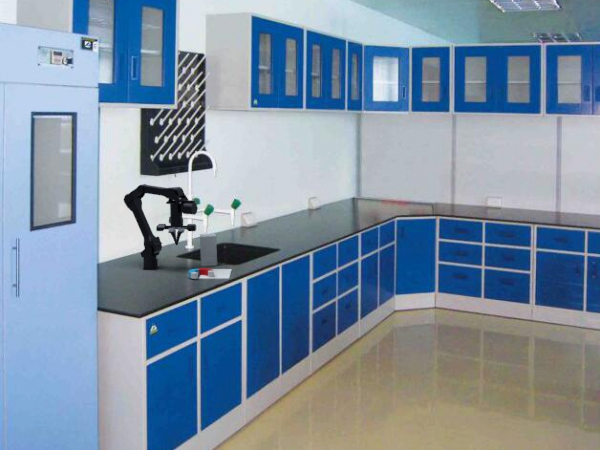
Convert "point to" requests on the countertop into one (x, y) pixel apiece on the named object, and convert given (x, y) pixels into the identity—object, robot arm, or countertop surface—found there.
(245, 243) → the countertop surface
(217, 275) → the white paper sheet
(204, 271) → the magnet
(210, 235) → the skincare box
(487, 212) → the countertop surface
